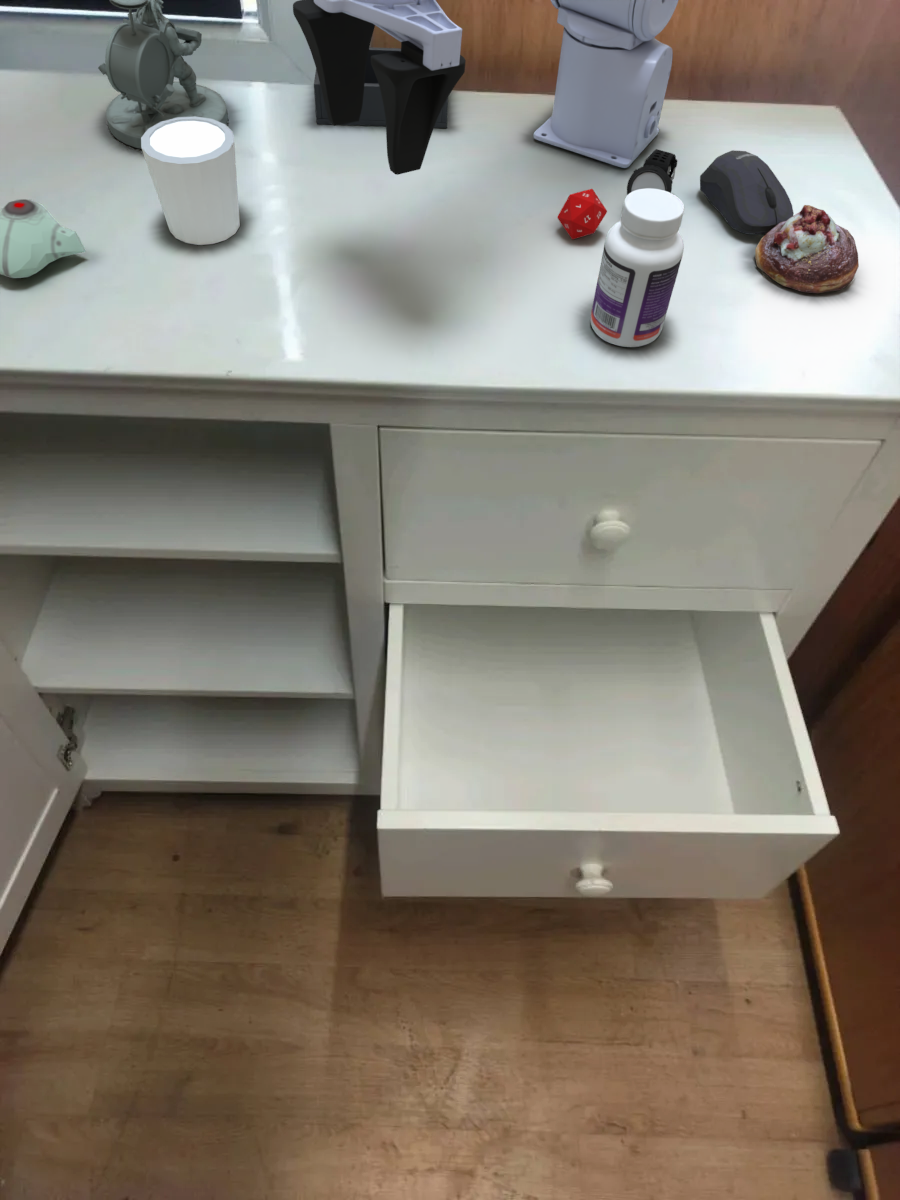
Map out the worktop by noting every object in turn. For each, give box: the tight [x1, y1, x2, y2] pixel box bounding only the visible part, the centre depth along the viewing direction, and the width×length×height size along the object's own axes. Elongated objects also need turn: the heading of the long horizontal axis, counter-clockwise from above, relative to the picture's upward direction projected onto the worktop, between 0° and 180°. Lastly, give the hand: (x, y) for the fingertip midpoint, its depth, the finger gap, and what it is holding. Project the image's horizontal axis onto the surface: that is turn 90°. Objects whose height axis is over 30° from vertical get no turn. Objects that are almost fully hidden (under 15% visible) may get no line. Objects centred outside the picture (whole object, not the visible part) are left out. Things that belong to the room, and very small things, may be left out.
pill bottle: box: [590, 188, 685, 348], centre depth 62 cm, size 5×5×10 cm
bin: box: [313, 46, 449, 129], centre depth 82 cm, size 12×8×4 cm, turn 91°
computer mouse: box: [699, 149, 795, 235], centre depth 74 cm, size 6×9×4 cm, turn 22°
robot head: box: [0, 198, 87, 279], centre depth 66 cm, size 8×4×7 cm
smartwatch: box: [626, 148, 678, 196], centre depth 73 cm, size 4×5×5 cm
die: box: [556, 188, 608, 240], centre depth 72 cm, size 4×4×4 cm
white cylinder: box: [141, 116, 241, 246], centre depth 69 cm, size 7×7×7 cm
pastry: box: [754, 204, 859, 294], centre depth 69 cm, size 8×8×5 cm
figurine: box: [97, 0, 229, 150], centre depth 76 cm, size 11×11×12 cm
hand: (374, 145), depth 60 cm, fingers open, 7 cm apart
